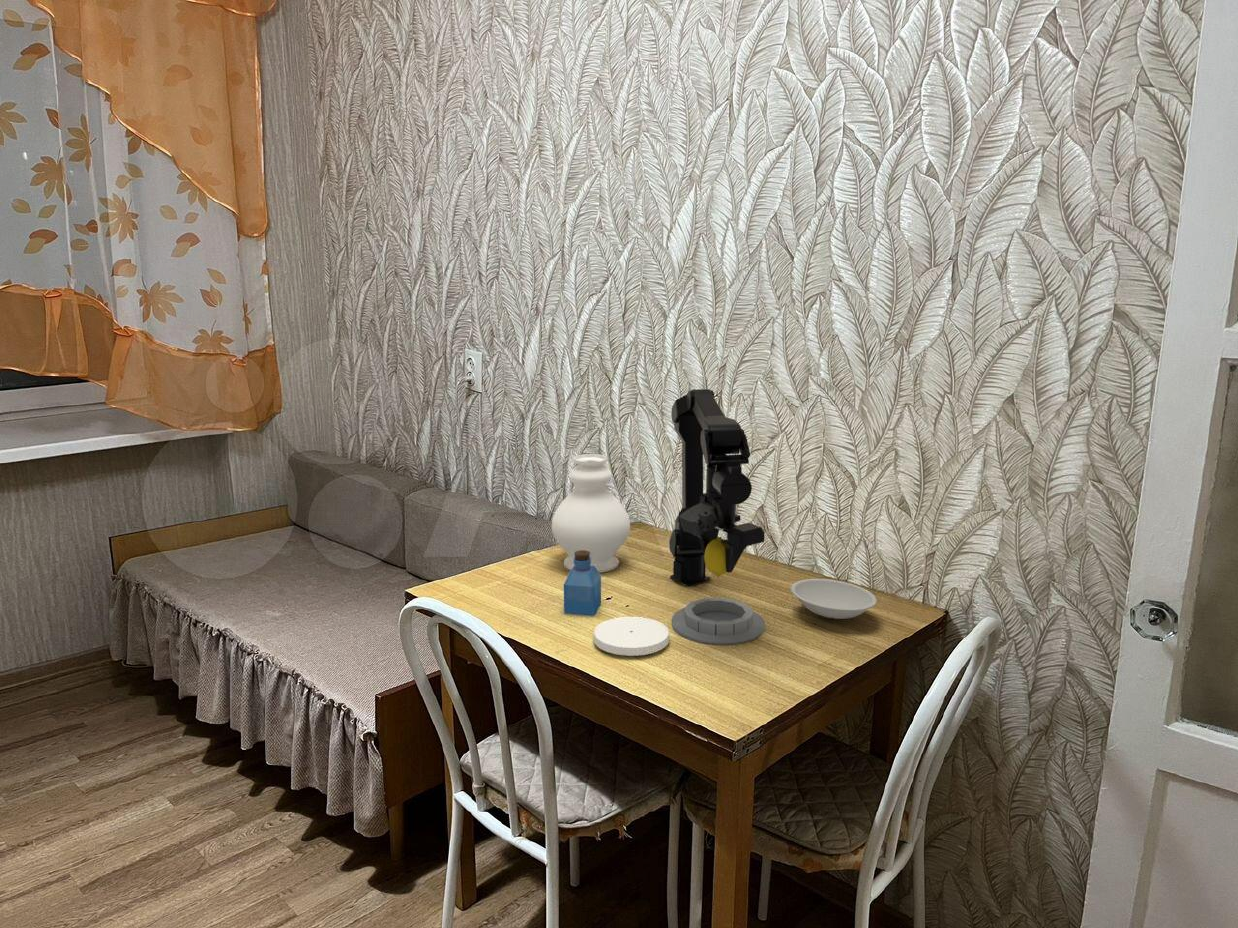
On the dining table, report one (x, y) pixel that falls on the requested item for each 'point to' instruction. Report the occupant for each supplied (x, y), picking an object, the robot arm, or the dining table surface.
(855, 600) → the dish
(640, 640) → the plastic lid
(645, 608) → the dining table surface
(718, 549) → the lemon
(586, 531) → the decorative vase
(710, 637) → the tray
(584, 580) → the perfume bottle
